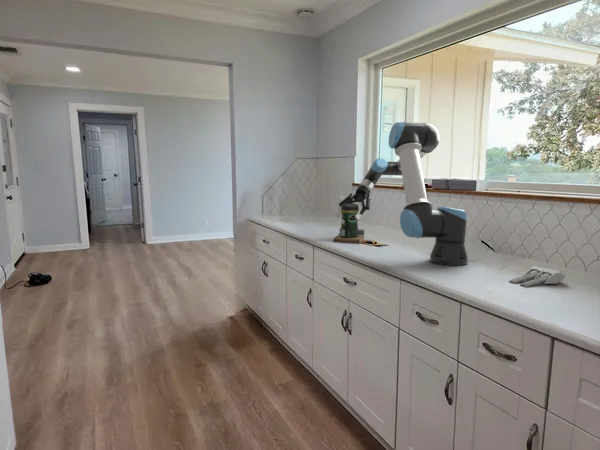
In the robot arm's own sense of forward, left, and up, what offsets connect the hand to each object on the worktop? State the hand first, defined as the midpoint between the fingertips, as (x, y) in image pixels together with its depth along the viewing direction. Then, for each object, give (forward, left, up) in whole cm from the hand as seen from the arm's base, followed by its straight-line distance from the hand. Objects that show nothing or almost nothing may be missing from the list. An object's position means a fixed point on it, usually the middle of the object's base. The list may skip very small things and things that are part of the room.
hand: (346, 217), depth 207 cm
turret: (-57, -77, -14) cm, 97 cm away
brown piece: (+4, -1, -13) cm, 14 cm away
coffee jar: (+2, -1, -11) cm, 12 cm away
